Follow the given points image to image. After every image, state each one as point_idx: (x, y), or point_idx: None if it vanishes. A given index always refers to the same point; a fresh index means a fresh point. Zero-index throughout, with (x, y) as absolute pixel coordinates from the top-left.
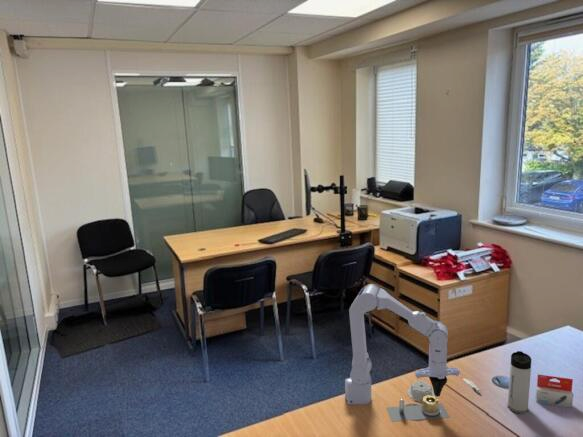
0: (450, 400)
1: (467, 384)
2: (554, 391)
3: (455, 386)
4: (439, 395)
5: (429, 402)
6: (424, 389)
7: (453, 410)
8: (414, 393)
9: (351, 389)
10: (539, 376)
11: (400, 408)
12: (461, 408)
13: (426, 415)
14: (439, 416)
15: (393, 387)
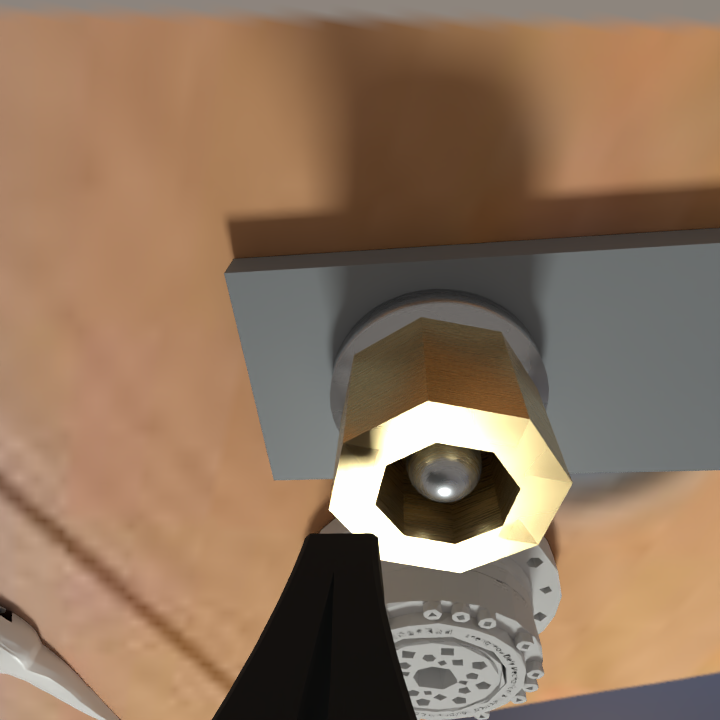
0: (183, 515)
1: (21, 645)
2: None
3: (123, 633)
4: (311, 547)
5: (491, 447)
6: (420, 641)
7: (174, 398)
8: (524, 603)
9: None
10: None
11: None
12: (92, 419)
13: (513, 314)
14: (354, 293)
15: (618, 661)
